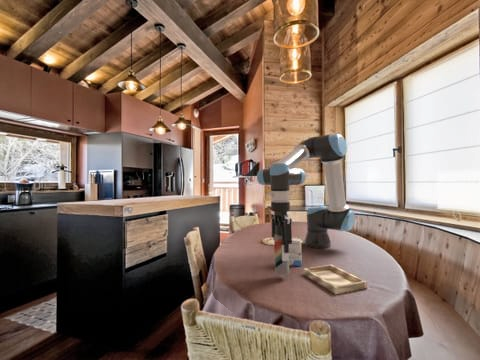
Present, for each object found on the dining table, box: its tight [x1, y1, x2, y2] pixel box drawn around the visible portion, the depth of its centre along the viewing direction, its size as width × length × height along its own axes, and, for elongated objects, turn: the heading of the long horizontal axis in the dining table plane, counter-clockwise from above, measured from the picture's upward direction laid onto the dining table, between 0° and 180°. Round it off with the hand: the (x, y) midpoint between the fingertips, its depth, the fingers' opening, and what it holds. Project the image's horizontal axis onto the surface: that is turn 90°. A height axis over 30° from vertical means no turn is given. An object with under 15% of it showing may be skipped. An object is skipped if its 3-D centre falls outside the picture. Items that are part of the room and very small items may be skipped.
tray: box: [303, 264, 368, 295], centre depth 100 cm, size 20×14×2 cm
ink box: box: [289, 238, 303, 267], centre depth 121 cm, size 9×5×12 cm, turn 71°
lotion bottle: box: [273, 223, 290, 276], centre depth 103 cm, size 6×6×20 cm
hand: (281, 257), depth 103 cm, fingers closed on lotion bottle, 6 cm apart
